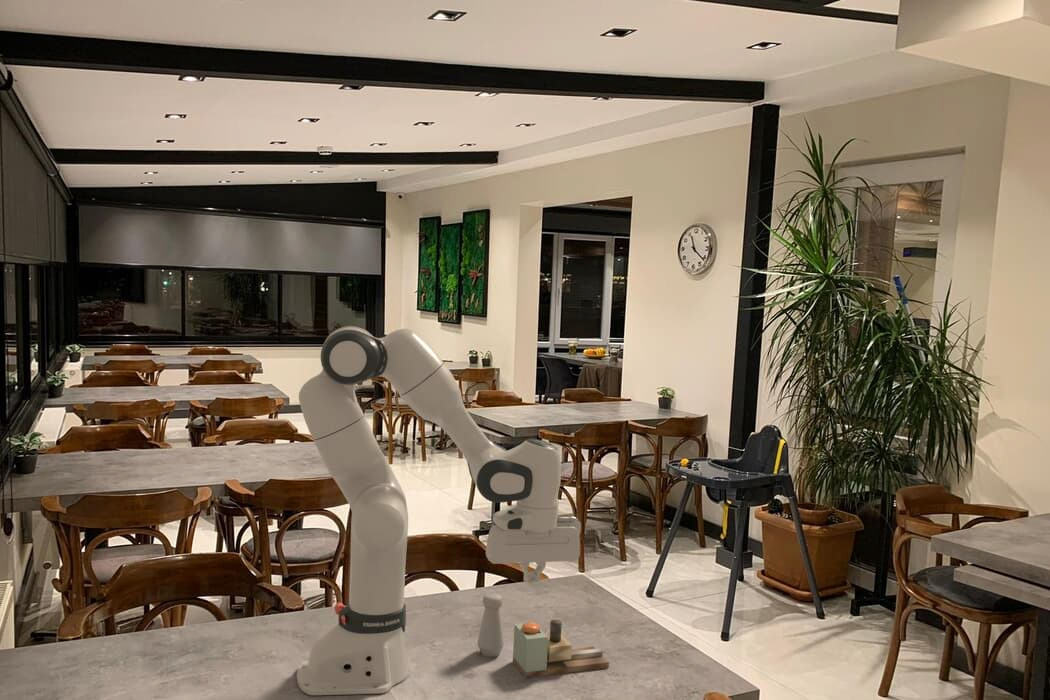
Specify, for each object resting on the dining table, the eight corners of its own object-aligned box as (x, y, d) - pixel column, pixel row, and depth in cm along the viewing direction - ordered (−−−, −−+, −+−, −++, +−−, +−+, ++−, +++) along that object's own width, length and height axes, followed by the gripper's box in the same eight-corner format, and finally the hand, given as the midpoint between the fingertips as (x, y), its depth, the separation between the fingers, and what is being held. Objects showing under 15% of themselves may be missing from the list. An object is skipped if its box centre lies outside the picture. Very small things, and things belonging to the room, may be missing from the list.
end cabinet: (525, 672, 169) (527, 639, 168) (513, 655, 176) (514, 624, 176) (546, 669, 170) (548, 636, 170) (532, 653, 178) (534, 622, 177)
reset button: (524, 653, 171) (525, 630, 170) (518, 645, 174) (519, 623, 174) (541, 651, 172) (542, 628, 172) (535, 643, 175) (536, 621, 175)
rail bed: (525, 677, 169) (525, 667, 169) (512, 661, 176) (513, 651, 176) (608, 667, 175) (609, 657, 175) (592, 651, 183) (593, 642, 183)
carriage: (549, 661, 171) (550, 628, 171) (538, 648, 177) (539, 617, 177) (571, 658, 173) (572, 626, 173) (559, 646, 179) (561, 615, 179)
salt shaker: (499, 660, 176) (502, 601, 176) (474, 657, 177) (476, 598, 177) (505, 649, 182) (508, 592, 181) (481, 646, 183) (483, 589, 182)
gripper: (575, 512, 178) (570, 574, 179) (486, 513, 171) (481, 578, 172) (587, 520, 172) (582, 584, 173) (495, 522, 165) (490, 589, 166)
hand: (531, 581), depth 172 cm, fingers closed
